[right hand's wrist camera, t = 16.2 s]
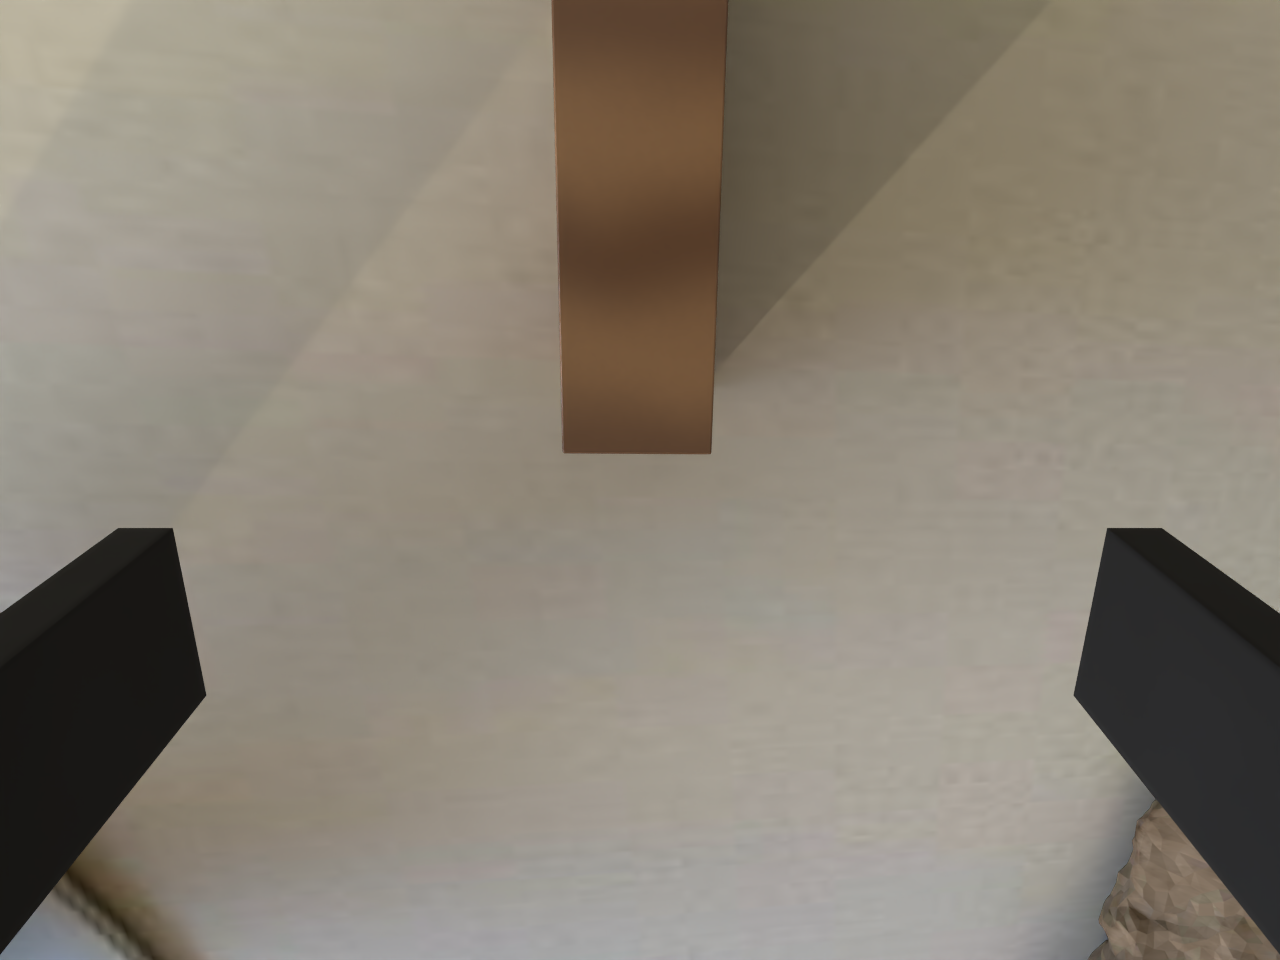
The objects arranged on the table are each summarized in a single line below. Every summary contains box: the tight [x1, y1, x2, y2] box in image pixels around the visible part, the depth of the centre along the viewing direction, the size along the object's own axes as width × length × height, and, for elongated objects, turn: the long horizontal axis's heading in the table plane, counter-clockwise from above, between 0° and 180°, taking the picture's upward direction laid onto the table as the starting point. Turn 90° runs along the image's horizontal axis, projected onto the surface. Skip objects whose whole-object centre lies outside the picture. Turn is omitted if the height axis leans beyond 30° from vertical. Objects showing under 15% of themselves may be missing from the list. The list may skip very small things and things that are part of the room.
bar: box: [552, 0, 728, 454], centre depth 28 cm, size 25×5×8 cm, turn 0°
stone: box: [1088, 800, 1280, 960], centre depth 43 cm, size 21×15×6 cm
